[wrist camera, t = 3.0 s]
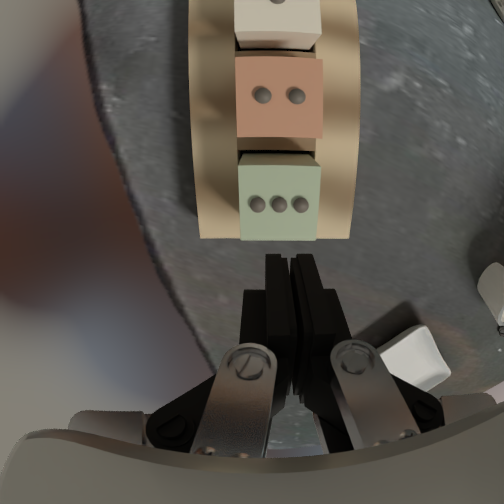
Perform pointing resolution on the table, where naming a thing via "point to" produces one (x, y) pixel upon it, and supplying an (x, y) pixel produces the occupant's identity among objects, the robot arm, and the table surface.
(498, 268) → the shot glass
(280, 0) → the white dice block
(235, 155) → the wooden dice block tray
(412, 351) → the salad plate
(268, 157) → the green dice block
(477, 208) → the table surface
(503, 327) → the coffee press
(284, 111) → the tan dice block
